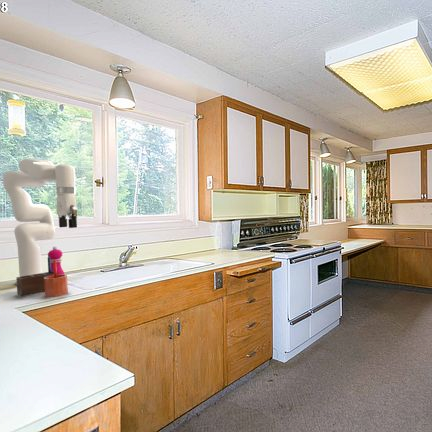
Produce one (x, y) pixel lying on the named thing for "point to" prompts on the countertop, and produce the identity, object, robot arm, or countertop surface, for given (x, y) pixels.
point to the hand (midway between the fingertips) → (68, 227)
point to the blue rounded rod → (49, 265)
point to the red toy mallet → (55, 269)
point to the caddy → (31, 283)
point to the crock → (55, 285)
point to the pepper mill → (56, 255)
